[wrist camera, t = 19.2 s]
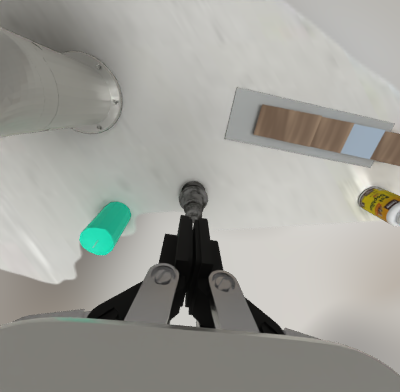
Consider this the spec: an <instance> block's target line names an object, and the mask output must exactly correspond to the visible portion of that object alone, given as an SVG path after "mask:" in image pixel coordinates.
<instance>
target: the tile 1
mask: <svg viewBox="0 0 400 392" xmlns="http://www.w3.org/2000/svg"><path fill="white" fill-rule="evenodd" d="M321 118H322V116H321V115H316V114H310V113H305V112H300V111H295V110H290V109H284V108H279V107H274V106H269V105H264V104H262V107H261V110H260V113H259V117H258V120H257V124H256V127H255V131H254V134H253V135H257V136H262V137H266V138H271V139H275V140H280V141H284V142H289V143H294V144H298V145H303V146H307V147H310V145H311V142H312V140H313V137H314V135H315V133H316V130H317V128H318V125H319V123H320V120H321Z"/></svg>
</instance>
